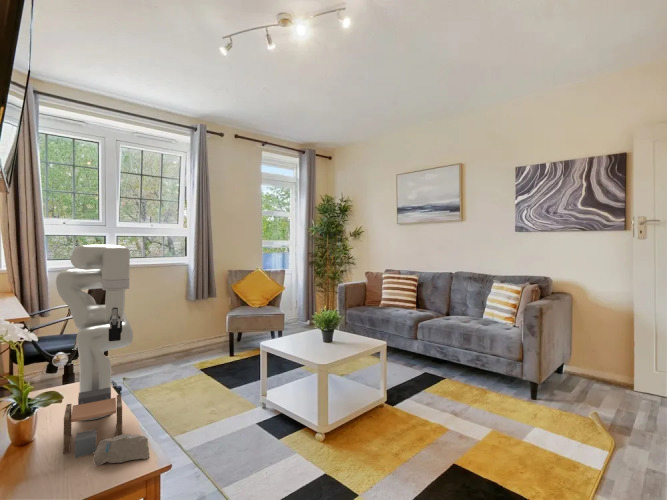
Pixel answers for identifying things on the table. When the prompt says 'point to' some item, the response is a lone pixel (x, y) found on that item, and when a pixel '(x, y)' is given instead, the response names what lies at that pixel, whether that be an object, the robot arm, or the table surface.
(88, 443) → the slate block
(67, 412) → the frame
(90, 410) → the trapdoor
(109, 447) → the concrete fragment
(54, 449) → the table surface
